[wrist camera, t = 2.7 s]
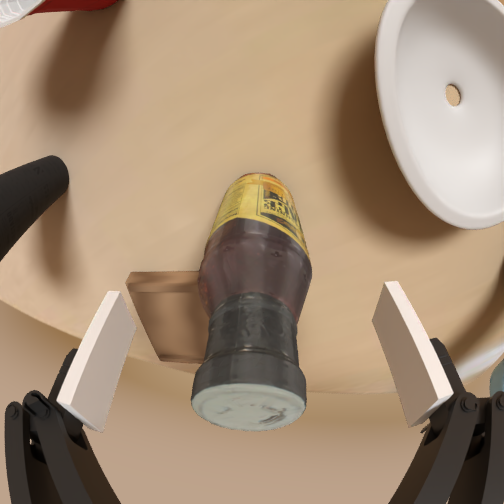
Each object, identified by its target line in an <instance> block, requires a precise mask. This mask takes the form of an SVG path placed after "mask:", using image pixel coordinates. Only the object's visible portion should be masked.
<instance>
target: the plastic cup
mask: <svg viewBox="0 0 504 504" xmlns="http://www.w3.org/2000/svg"><path fill="white" fill-rule="evenodd" d="M117 1H118V0H0V27H4V26H6V25H9V24H11V23H13V22H16V21H18V20H21V19H23V18H25V17H26V16H27V15H32V14H35V13H45V12H60V11H75V10H81V11H93V10H100V9H104V8H106V7H109V6H111V5H113V4H114V3H116V2H117Z"/></svg>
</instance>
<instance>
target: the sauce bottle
mask: <svg viewBox="0 0 504 504" xmlns="http://www.w3.org/2000/svg"><path fill="white" fill-rule="evenodd" d="M311 279H312V267H311V262H310V259H309V253H308V250H307V247H306V242H305V239H304V235H303V231H302V228H301V225H300V221H299V217H298V214H297V211H296V208H295V204H294V201H293V198H292V195H291V193H290V191H289V190H288V188H287V187H286V186H285V185H284V184H283V183H282V182H281V181H280V180H279V179H277V178H276V177H275V176H273V175H271V174H265V173H250V174H245V175H243V176H241V177H240V178H239V179H238V180H236V181H235V182H234V183H233V184H231V185H230V187H229V188H228V190H227V192H226V194H225V196H224V199H223V201H222V204H221V206H220V209H219V212H218V215H217V217H216V220H215V222H214V225H213V228H212V231H211V233H210V236H209V239H208V241H207V244H206V248H205V253H204V259H203V261H202V262H201V266H200V270H199V276H198V279H197V282H198V292H199V297H200V300H201V303H202V305H203V308H204V310H205V312H206V314H207V316H208V317H209V319H210V320H209V326H208V333H209V336H208V341H207V346H206V351H205V357H204V362H203V364H202V365H201V366H200V367H199V369H198V370H197V371H196V374H195V378H194V383H193V389H192V396H191V404H192V407H193V409H194V410H195V412H196V413H197V415H199V416H200V417H201V418H203V419H205V420H207V421H209V422H210V423H212V424H214V425H217V426H220V427H223V428H228V429H233V430H243V431H267V430H272V429H276V428H281V427H283V426H286V425H289V424H291V423H292V422H294V421H295V420H297V419H298V418H299V417H300V416H301V415H302V414H303V412H304V411H305V409H306V400H307V398H306V379H305V376H304V374H303V372H302V371H301V369H300V368H299V360H298V350H297V340H296V335H297V323H298V320H299V317H300V314H301V311H302V308H303V304H304V301H305V298H306V295H307V292H308V289H309V285H310V282H311Z"/></svg>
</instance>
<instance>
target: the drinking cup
mask: <svg viewBox="0 0 504 504" xmlns="http://www.w3.org/2000/svg"><path fill="white" fill-rule="evenodd" d="M68 183H69V175H68V170H67V168H66V165H65V164H64V162H63V161H62V160H61V159H60V158H59V157H57V156H53V155H51V156H47V157H44V158H41V159H39V160H36V161H33V162H30V163H28V164H25V165H22V166H20V167H17V168H15V169H12V170H10V171H8V172H5V173H3V174H1V175H0V261H1V260H2V259H3V258H4V256H5V255H6V254H7V253H8V251H9V250H10V249H11V248H12V247H13V245H14V244H15V243H16V242H17V241H18V240H19V238H20V237H21V236H22V235H23V234H24V233H25V232H26V231H27V229H28V228H29V227H30V226H31V225H32V224H33V223H34V222H35V221H36V220H37V219H38V218H39V217H40V216H41V215H42V214H43V213H44V211H45V210H46V209H47V208H49V207H50V206H51V205H52V204H53V203H54V202H55V201H56V200H57V199H58V198H59V197H60V196H61V195H62V194H63V193H64V192H65V191H66V189H67V187H68Z"/></svg>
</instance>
